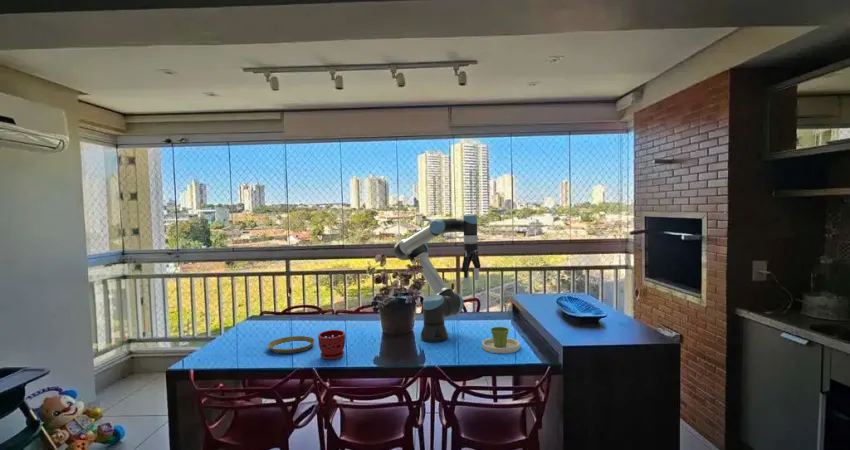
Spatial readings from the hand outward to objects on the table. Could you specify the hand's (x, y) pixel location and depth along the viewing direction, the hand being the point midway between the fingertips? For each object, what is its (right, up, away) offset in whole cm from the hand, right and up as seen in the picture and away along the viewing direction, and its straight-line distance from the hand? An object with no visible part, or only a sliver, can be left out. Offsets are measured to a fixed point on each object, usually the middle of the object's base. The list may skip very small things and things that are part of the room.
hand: (471, 281), depth 242 cm
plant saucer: (-97, -36, -5) cm, 104 cm away
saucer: (+13, -32, -16) cm, 38 cm away
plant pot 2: (+13, -31, -16) cm, 37 cm away
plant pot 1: (-72, -35, -22) cm, 83 cm away
